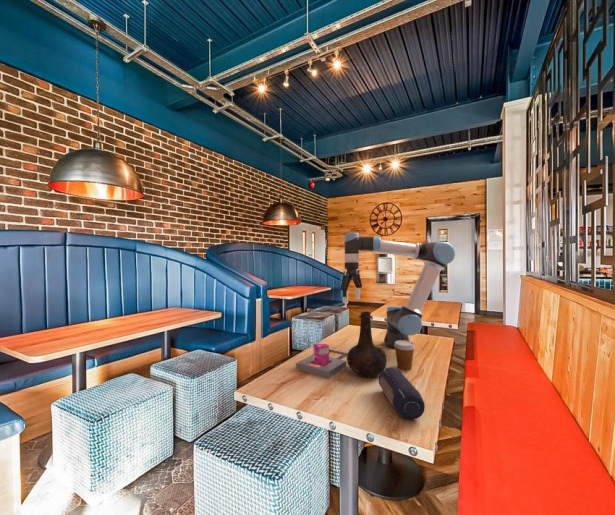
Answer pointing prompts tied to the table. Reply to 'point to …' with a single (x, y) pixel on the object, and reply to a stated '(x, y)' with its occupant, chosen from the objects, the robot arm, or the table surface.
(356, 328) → the table surface
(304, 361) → the socket plate
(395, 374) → the portable speaker
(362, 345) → the glass bottle
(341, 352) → the flat grey square frame
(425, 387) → the table surface
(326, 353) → the supplement box
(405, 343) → the disposable coffee cup
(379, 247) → the robot arm
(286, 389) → the table surface
